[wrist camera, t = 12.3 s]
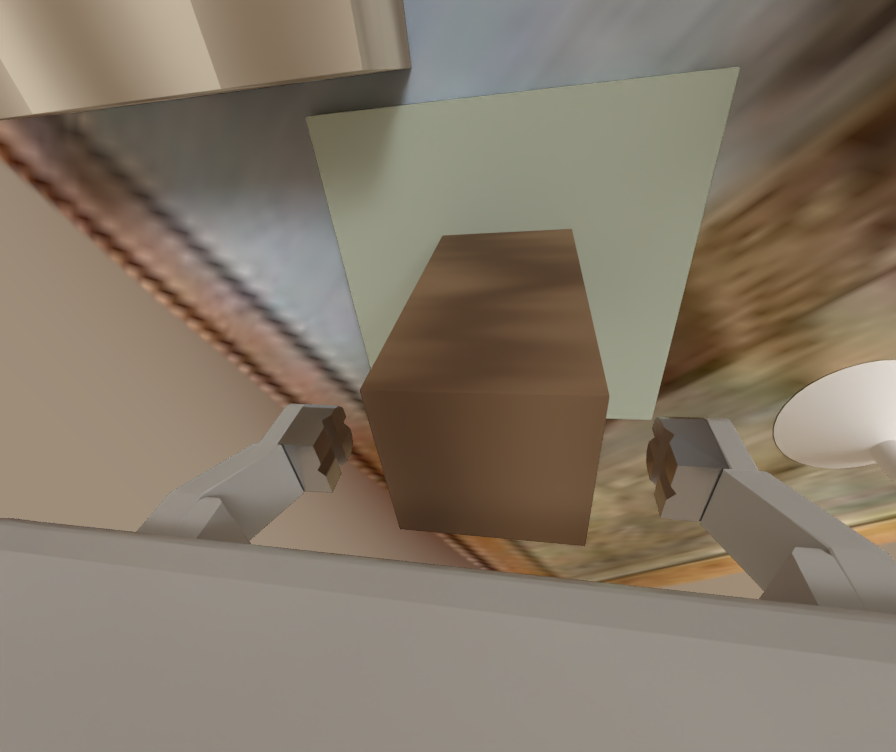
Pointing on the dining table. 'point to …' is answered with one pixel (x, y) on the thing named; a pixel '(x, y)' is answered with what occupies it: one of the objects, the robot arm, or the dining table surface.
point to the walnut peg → (493, 392)
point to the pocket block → (184, 49)
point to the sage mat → (536, 199)
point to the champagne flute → (843, 420)
